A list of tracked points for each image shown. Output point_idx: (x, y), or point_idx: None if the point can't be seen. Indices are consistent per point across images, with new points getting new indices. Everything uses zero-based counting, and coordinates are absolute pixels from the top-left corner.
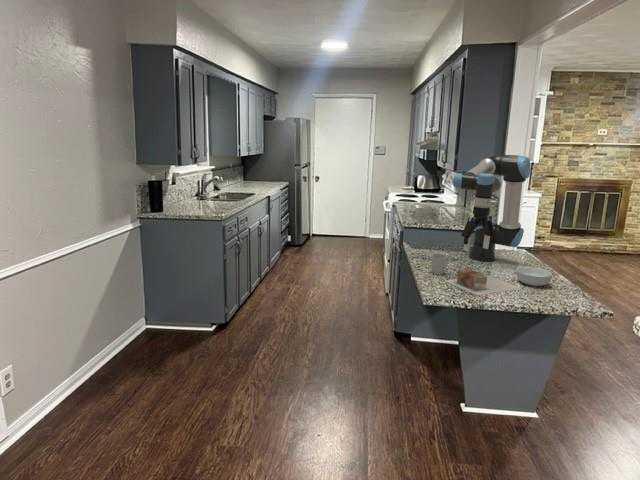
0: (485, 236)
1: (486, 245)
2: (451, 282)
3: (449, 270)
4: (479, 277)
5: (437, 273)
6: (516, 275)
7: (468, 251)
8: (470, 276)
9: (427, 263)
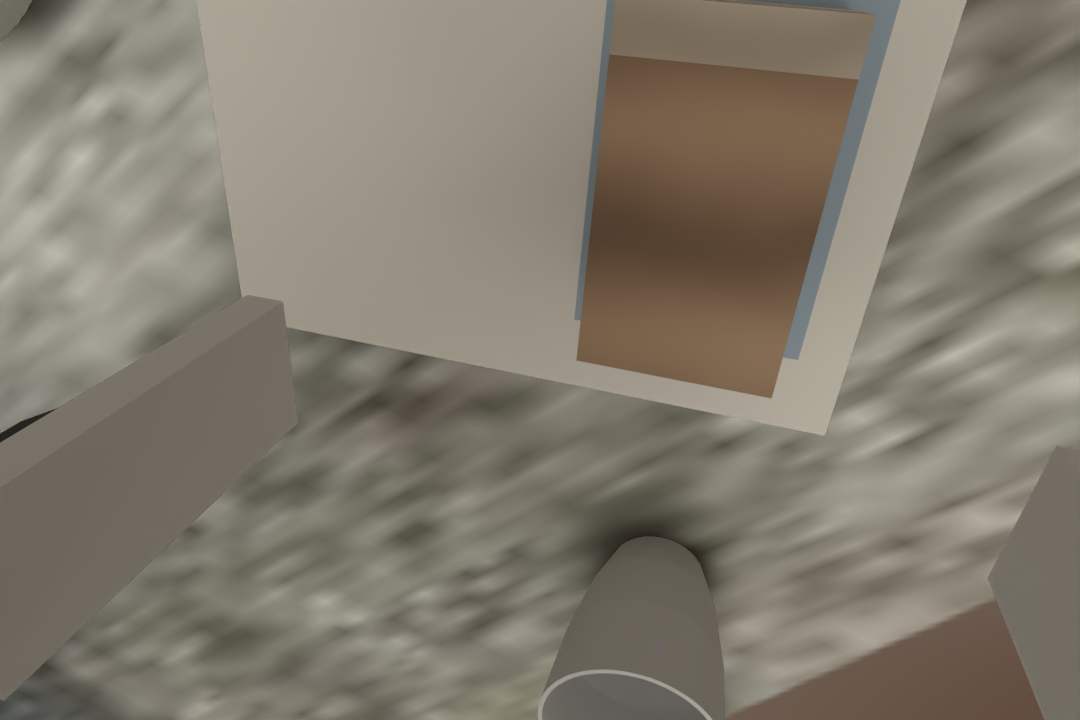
0: (30, 626)
1: (229, 375)
2: (809, 361)
3: (470, 550)
4: (805, 15)
5: (697, 567)
6: (18, 11)
7: (1063, 447)
8: (833, 164)
9: (501, 716)
